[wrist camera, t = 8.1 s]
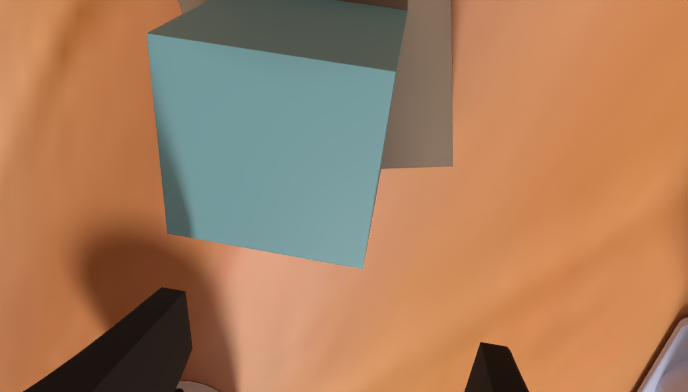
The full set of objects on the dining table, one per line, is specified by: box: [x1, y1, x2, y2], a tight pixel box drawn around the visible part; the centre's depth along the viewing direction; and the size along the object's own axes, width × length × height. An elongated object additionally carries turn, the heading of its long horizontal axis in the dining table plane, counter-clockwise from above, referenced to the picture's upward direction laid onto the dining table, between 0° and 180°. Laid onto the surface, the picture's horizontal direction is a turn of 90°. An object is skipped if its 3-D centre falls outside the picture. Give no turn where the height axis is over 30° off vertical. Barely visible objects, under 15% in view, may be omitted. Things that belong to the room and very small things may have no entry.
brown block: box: [179, 0, 453, 169], centre depth 17 cm, size 8×8×4 cm
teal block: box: [147, 0, 408, 269], centre depth 13 cm, size 5×5×6 cm
